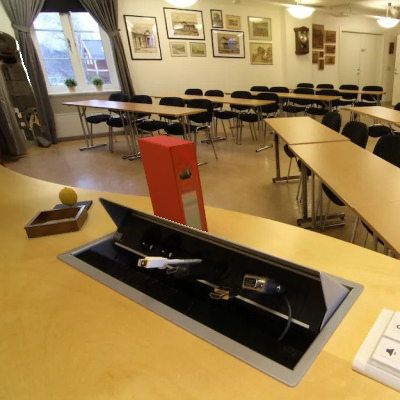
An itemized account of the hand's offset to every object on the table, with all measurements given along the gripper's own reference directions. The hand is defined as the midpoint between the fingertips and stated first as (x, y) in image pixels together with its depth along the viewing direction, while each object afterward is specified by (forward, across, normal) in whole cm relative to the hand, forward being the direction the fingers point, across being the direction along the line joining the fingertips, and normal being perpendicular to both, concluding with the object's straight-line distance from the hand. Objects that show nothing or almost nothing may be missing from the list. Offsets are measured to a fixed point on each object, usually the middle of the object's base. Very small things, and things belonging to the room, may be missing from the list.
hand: (35, 138), depth 122 cm
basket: (+26, +27, +8) cm, 38 cm away
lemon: (+25, +11, +8) cm, 29 cm away
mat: (+26, +12, +8) cm, 30 cm away
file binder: (+26, +53, +47) cm, 76 cm away
